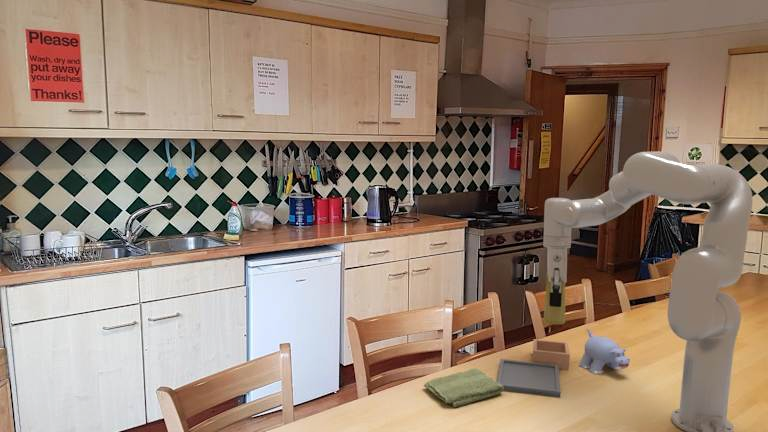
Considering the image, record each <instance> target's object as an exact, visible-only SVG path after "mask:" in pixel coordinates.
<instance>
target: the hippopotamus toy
mask: <svg viewBox="0 0 768 432" xmlns="http://www.w3.org/2000/svg"><path fill="white" fill-rule="evenodd" d="M585 331H587V332H588V336H589V338H588V339H587V340H586V341H585V344H584V353H583V354H582V357H581V358H580V362H579V364H578V366H579V367H581V368H583V369H586V370H587V369H588V370H589V373H593V374H595V375H597V374H598V375H599V374H602V373H604V370H603V368H604V366H605V365H608V367H609V368H611V369H613V370H614V371H615V370H617V371H618V370H622V369H626V368H628V367H629V365H630V362H631V361H630V359H631V358H629V357H628V356H625V355H626V354H625V352H626V350H627V349H626V348H621V347H620V346H619V345H618V343H617V342H616V341H614V340H613V339H610V338H609V337H606V336H598V335H594V333H592V331H591V330H590V329H585Z"/></svg>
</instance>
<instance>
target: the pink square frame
mask: <svg viewBox="0 0 768 432" xmlns="http://www.w3.org/2000/svg"><path fill="white" fill-rule="evenodd" d="M532 362H536V363H545V364H555V365H558V368H559V370H560V369H561V370H568V371H569V370H570V346H569V342H567V341H556V340H548V339H539V338H538V339H535V338H534V339H533V341H532Z"/></svg>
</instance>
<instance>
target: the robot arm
mask: <svg viewBox="0 0 768 432" xmlns="http://www.w3.org/2000/svg"><path fill="white" fill-rule="evenodd" d="M652 195H653V196H656V197H659V198H661V199H664V200H668V201H671V202H672V203H673V202H674V203H678V204H682V205H696V204H705V203H707V204H708V203H709V205H710V206H709V211H708V212H707V215H706V216H705V218H704V222H703V224H702V225H703V226H702V235H701V239H700V243H699V246H698V247H693V248H691V249H688V250H686V251H684V252H683V253H681V255H680V256H679V257H678V258H677V260H676V262H675V263H674V266H673V269H672V276H671V282H670V290H669V297H668V303H667V321H668V324H669V327H670V329H671V331H672V332H673V333H674V335H676V336H677V337H679V338H680V339H681V340H684V341H686V342H685V347H684V356H683V367H682V378H681V379H682V380H681V387H680V389H681V391H680V401H679V408H677V409H674V410H673V411H672V412H671V417H670V419H671V421H672V423H673V424H674V425H675V426H676V427H678V428H679V429H680V430H683V431H684V432H734V425H733V423H732V422H731V421H730V420H729V419H728V417H727V415H728V408H729V407H728V406H729V396H730V388H731V387H730V386H731V377H732V368H733V367H732V366H733V360H734V353H735V352H734V351H735V345H736V341H737V336H738V333H739V329H740V326H741V321H742V311H741V307H740V305H739V303H738V302H737V300H736V298H734V297H733V296H732V295H730V294H729V293H727V292H725V291H721V290H719V289H723V288H726V287H729V286H730V287H731V286H733V285H734V284H736V283H737V282H738V281H739V279H740V278H741V276H742V272H743V267H744V262H745V261H744V260H745V254H746V248H747V247H746V246H747V241H748V234H749V233H748V232H749V226H750V220H751V215H752V210H753V192H752V189H751V187H750V184H749V182H748V181H747V179H746V178H745V177H744V176H743V175H742V174H741V173H740V172H738V171H737V170H735V169H734V168H732V167H729V166H727V165H723V164H719V163H718V164H717V163H702V164H685V163H681V161H680V159H678V157H677V156H676V155H674V154H673V153H670V152H668V151H662V150H661V151H658V150H657V151H640V152H637V153H635V154H632V155H631V156H630V157H628V158H627V160H626V161H625V163H624V164H623V169H622V170H621V171H620V172H617V174H615V175H613V176H612V177H611V178H610V179H609V183H608V190H607V191H606V192H603V193H602V194H600V195H598V196H596V197H593V198H584V199H581V198H580V199H573V200H572V199H570V198H564V197H550V198H547V199H546V200H545V202H544V215H543V241H542V242H543V247H544V248H547V254H546V255H547V258H546V259H547V260H546V261H547V262H546V263H547V265H546V266H547V272H548V279H549V282H551V292H550V301H549V305H550V306H552V307H561V298H562V293H561V280H562V282H564V283H565V284H566V283H567V273H568V271H567V270H568V249H571V248H572V247H571V245H572V229H579V228H585V227H593V226H599V225H602V224H605V223H607V222H609V221H612V220H613V219H615V218H617V217H619V216H620V215H622V214H624V213H626V212H627V210H629V209H630V208H631V207H632V206H633V205H635V204H636V203H638V202H640V201H642V200H644V199H646V198H648V197H650V196H652ZM552 279H553V280H554V282H552ZM559 280H560V282H559ZM553 284H554V285H553Z"/></svg>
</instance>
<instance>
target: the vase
mask: <svg viewBox="0 0 768 432" xmlns="http://www.w3.org/2000/svg"><path fill="white" fill-rule="evenodd" d="M545 275H546V278H545V280H546V282H545V299H544V311H543V322H544V323H545V324H550V325H554V326H555V325H556V326H557V325H564V324H565V323H566V283H564V282H562V280H561V293H562V298H561V307H552V306H550V305H549V301H550V292H551V282H549V279H548V271H546V273H545ZM552 282H554V280H553V279H552ZM559 282H560V280H559ZM553 285H554V284H553Z"/></svg>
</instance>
